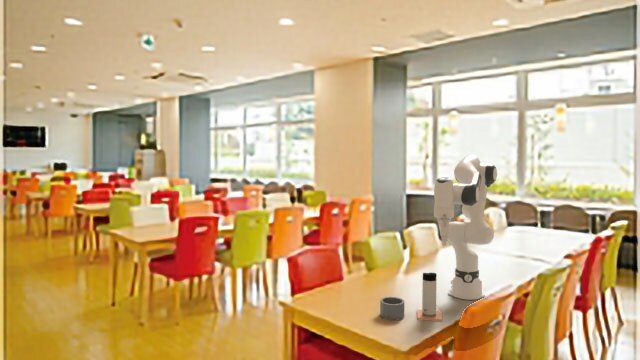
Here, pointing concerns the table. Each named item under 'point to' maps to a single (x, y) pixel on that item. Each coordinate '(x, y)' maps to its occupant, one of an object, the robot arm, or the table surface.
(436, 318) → the terracotta tile
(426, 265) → the table surface
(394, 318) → the faceted gray cup
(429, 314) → the travel mug
